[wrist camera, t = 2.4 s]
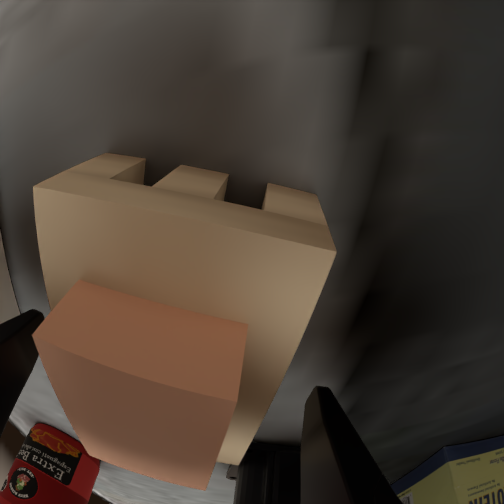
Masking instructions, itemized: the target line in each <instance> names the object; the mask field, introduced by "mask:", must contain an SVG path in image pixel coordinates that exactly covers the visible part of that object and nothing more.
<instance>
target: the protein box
mask: <svg viewBox="0 0 504 504" xmlns="http://www.w3.org/2000/svg"><path fill="white" fill-rule="evenodd" d="M390 486H391V487H392V489H393V490H394V492H395V493H396V495H397V496H398V497H399V499H400V500H401V501H402V503H403V504H504V435H503V436H499V437H495V438H491V439H486V440H481V441H476V442H471V443H465V444H460V445H453V446H445V447H443V448H442V449H441V450H440V451H438V452H437V453H436V454H434V455H433V456H432V457H430V458H429V459H428V460H426V461H425V462H424V463H422V464H421V465H420V466H418V467H417V468H415V469H414V470H413V471H411V472H410V473H408V474H407V475H405V476H404V477H403V478H401V479H399V480H398V481H396V482H395V483H393V484H392V485H390Z"/></svg>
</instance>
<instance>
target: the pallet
mask: <svg viewBox="0 0 504 504" xmlns="http://www.w3.org/2000/svg"><path fill="white" fill-rule="evenodd" d="M145 163H146V159H145V158H138V157H132V156H125V155H118V154H111V153H104V154H102V155H99V156H97V157H95V158H92V159H90V160H87V161H85V162H83V163H81V164H78V165H76V166H74V167H72V168H69V169H67V170H65V171H63V172H61V173H59V174H57V175H55V176H53V177H50V178H48V179H46V180H44V181H42V182H40V183H38V184H37V185H35V186H33V197H34V210H35V221H36V230H37V238H38V246H39V253H40V259H41V265H42V271H43V276H44V282H45V287H46V292H47V296H48V301H49V305H50V309H51V311H52V310H53V309H54V307H55V306H56V305H57V304H58V303H59V302H60V300H61V299H62V298H63V297H64V296H65V295H66V293H67V292H68V291H69V290H70V289H71V288H72V287H73V286H74V284H75V283H76V282H77V281H78V280H82V281H85V282H89V283H92V284H95V285H98V286H102V287H105V288H108V289H112V290H115V291H118V292H122V293H125V294H129V295H132V296H136V297H139V298H143V299H147V300H150V301H154V302H158V303H161V304H165V305H169V306H173V307H177V308H181V309H185V310H189V311H193V312H197V313H201V314H205V315H209V316H214V317H218V318H222V319H227V320H231V321H236V322H240V323H245V324H248V330H247V337H246V344H245V351H244V358H243V365H242V372H241V379H240V386H239V393H238V400H237V404H236V407H235V410H234V413H233V416H232V418H231V421H230V424H229V427H228V430H227V433H226V436H225V438H224V441H223V444H222V447H221V450H220V452H219V455H218V458H217V461H216V462H221V463H227V464H233V465H239V463H240V462H241V460H242V458H243V456H244V454H245V453H246V451H247V449H248V447H249V445H250V443H251V441H252V440H253V438H254V436H255V434H256V432H257V430H258V428H259V426H260V424H261V422H262V420H263V419H264V417H265V415H266V413H267V411H268V409H269V407H270V405H271V403H272V401H273V399H274V397H275V395H276V392H277V390H278V388H279V386H280V384H281V382H282V380H283V378H284V376H285V374H286V372H287V369H288V367H289V365H290V363H291V361H292V359H293V356H294V354H295V352H296V350H297V348H298V345H299V343H300V341H301V339H302V336H303V334H304V332H305V329H306V327H307V325H308V322H309V320H310V318H311V315H312V313H313V311H314V308H315V306H316V303H317V301H318V299H319V296H320V294H321V291H322V289H323V286H324V284H325V281H326V279H327V276H328V274H329V271H330V268H331V266H332V263H333V261H334V258H335V255H336V253H337V251H336V248H335V245H334V242H333V239H332V237H331V234H330V231H329V228H328V225H327V222H326V219H325V217H324V214H323V211H322V208H321V206H320V203H319V200H318V198H317V195H316V194H312V193H308V192H304V191H300V190H296V189H292V188H288V187H284V186H280V185H275V184H271V183H268V184H267V188H266V192H265V197H264V201H263V205H262V209H256V208H252V207H247V206H243V205H238V204H234V203H229V202H225V201H224V197H225V192H226V187H227V182H228V177H229V174H226V173H221V172H216V171H211V170H206V169H201V168H196V167H191V166H185V165H180V166H179V167H177V168H176V169H174V170H173V171H172V172H170V173H169V174H168V175H166V176H165V177H164V178H162V179H161V180H160V181H158V182H157V183H156V184H154V185H153V186H152V187H151V186H146V185H143V184H144V173H145Z"/></svg>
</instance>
